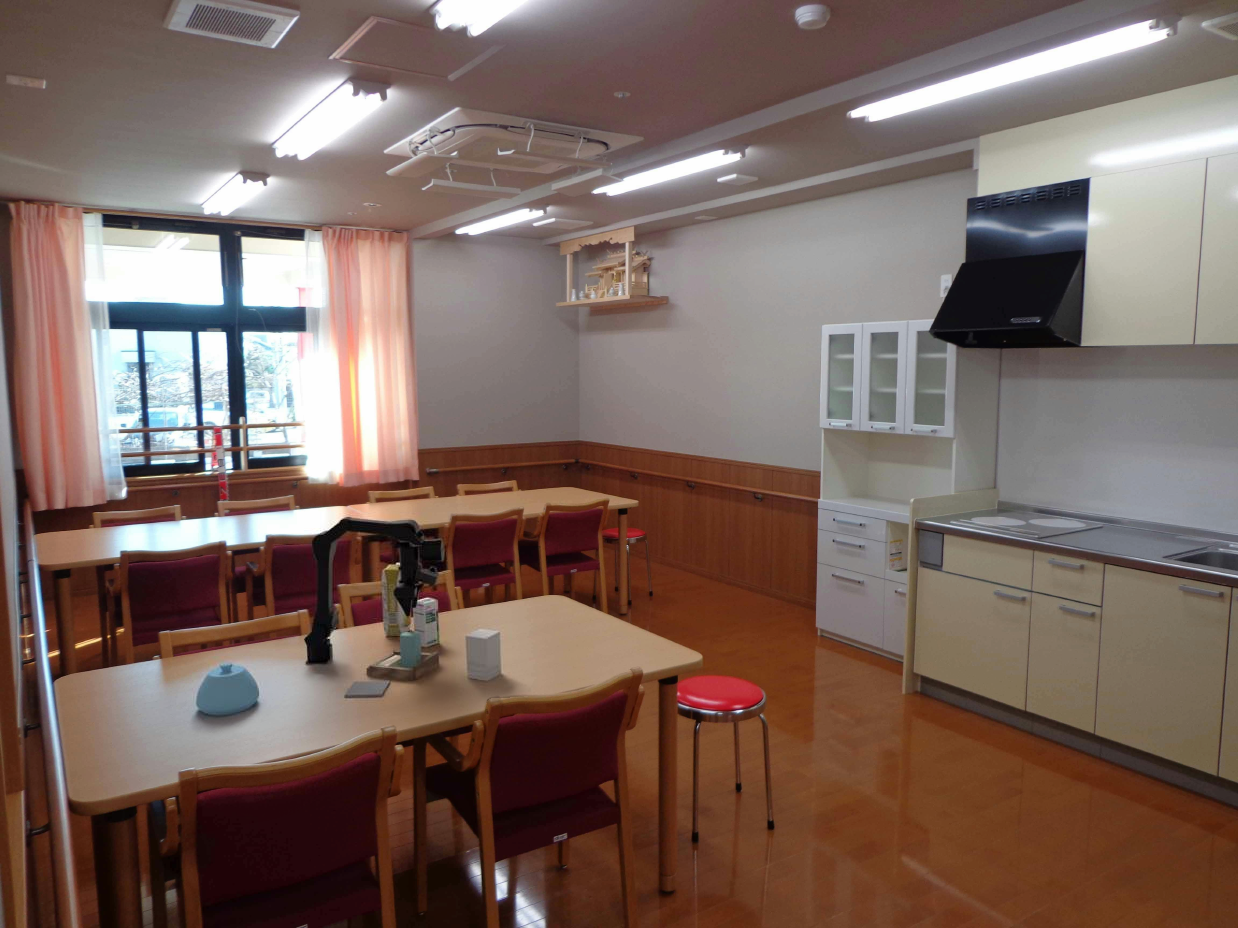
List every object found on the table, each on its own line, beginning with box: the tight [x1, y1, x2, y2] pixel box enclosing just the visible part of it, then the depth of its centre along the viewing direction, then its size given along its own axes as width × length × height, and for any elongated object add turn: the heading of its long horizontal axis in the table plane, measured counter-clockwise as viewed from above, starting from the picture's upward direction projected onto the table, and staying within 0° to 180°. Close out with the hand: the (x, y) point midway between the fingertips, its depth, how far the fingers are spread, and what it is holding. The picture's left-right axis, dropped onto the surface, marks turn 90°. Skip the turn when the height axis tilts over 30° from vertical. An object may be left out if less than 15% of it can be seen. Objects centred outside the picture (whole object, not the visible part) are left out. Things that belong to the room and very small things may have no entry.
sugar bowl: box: [195, 662, 260, 717], centre depth 216 cm, size 15×15×12 cm
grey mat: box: [343, 680, 391, 698], centre depth 227 cm, size 10×10×1 cm
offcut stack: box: [378, 655, 401, 667], centre depth 244 cm, size 4×10×3 cm, turn 163°
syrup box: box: [412, 597, 440, 648], centre depth 266 cm, size 6×6×14 cm
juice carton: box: [381, 562, 412, 637], centre depth 277 cm, size 9×8×24 cm
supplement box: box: [465, 628, 502, 682], centre depth 237 cm, size 7×7×13 cm
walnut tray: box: [366, 649, 440, 681], centre depth 243 cm, size 16×14×4 cm
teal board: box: [399, 632, 422, 669], centre depth 242 cm, size 5×3×11 cm, turn 74°
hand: (411, 611), depth 251 cm, fingers open, 9 cm apart
